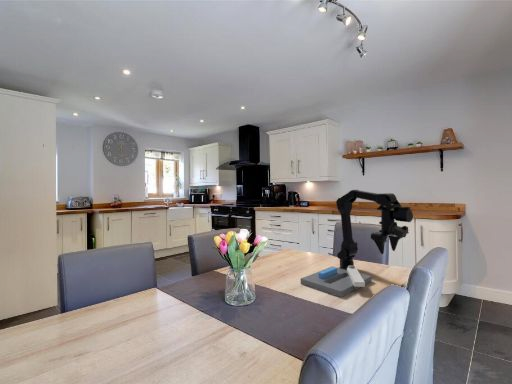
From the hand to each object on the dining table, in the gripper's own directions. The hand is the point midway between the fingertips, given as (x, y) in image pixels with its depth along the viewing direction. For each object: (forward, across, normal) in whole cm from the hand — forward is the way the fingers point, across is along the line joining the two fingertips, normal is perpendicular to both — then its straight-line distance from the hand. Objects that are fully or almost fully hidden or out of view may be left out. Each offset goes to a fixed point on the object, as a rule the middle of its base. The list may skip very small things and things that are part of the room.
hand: (388, 252), depth 130 cm
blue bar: (+12, -22, +18) cm, 30 cm away
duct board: (+14, -21, +13) cm, 29 cm away
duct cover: (+11, -16, +7) cm, 20 cm away
